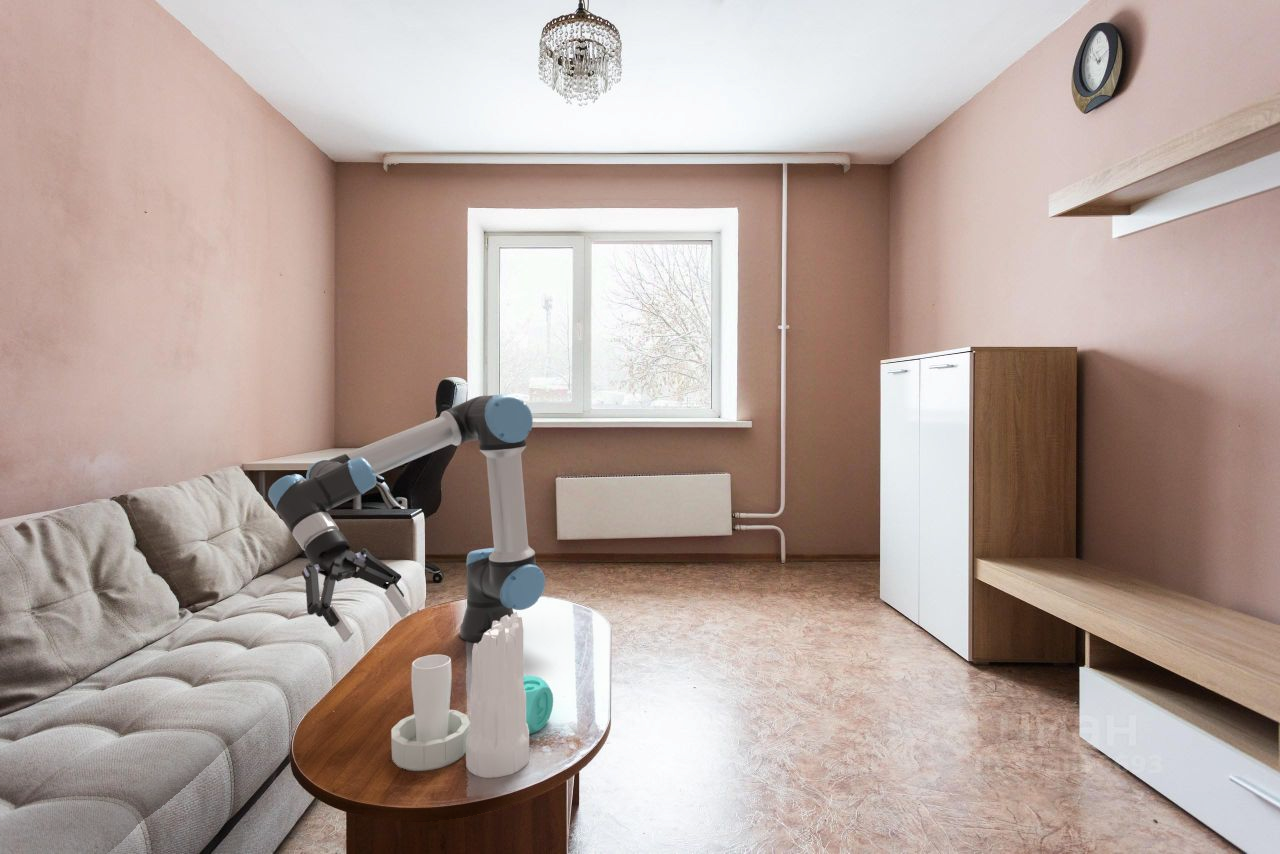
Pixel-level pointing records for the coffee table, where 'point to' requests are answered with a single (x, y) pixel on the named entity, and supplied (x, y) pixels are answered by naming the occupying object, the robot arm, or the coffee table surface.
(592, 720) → the coffee table surface
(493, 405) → the robot arm
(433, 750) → the dish
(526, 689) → the decorative dice
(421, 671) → the drinking glass
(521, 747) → the decorative vase
